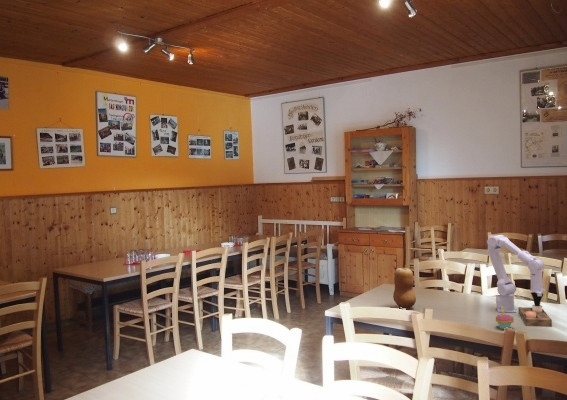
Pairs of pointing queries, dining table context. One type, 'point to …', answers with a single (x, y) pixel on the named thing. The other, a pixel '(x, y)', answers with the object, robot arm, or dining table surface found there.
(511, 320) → the cupcake
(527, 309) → the wooden compartment tray
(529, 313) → the terracotta button
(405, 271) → the butternut squash
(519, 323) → the dining table surface
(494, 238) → the robot arm
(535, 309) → the cream button
